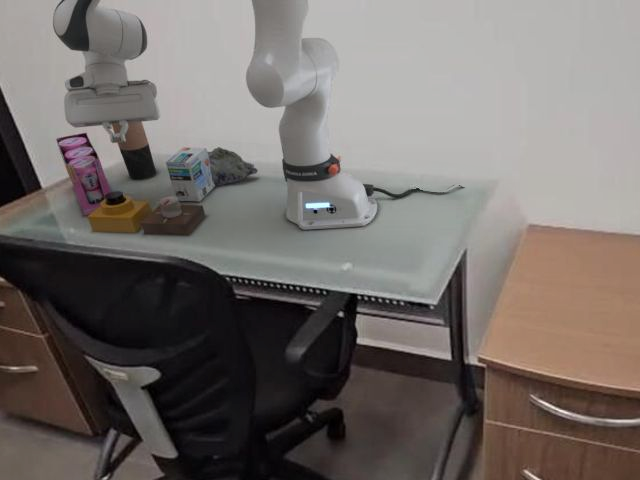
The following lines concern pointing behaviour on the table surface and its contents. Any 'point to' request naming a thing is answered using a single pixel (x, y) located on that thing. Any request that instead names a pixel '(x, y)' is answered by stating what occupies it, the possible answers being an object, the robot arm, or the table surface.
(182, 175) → the light bulb box
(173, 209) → the knob
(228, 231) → the table surface
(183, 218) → the dial panel
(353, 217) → the robot arm
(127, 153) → the travel mug
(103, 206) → the control box
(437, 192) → the table surface
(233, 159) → the mineral rock
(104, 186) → the gum box
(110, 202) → the button
